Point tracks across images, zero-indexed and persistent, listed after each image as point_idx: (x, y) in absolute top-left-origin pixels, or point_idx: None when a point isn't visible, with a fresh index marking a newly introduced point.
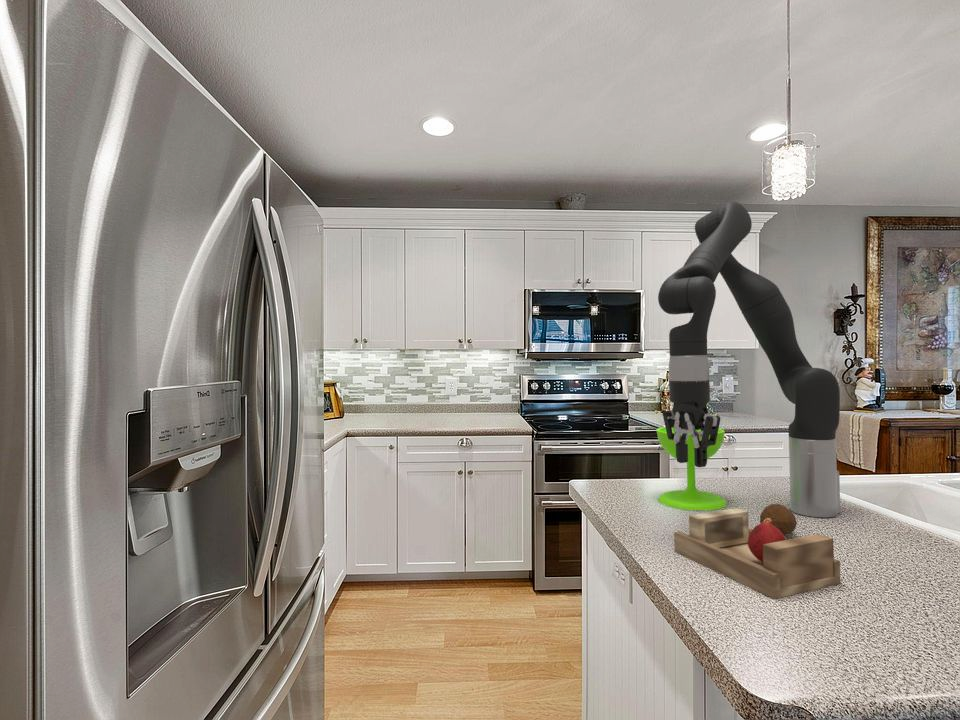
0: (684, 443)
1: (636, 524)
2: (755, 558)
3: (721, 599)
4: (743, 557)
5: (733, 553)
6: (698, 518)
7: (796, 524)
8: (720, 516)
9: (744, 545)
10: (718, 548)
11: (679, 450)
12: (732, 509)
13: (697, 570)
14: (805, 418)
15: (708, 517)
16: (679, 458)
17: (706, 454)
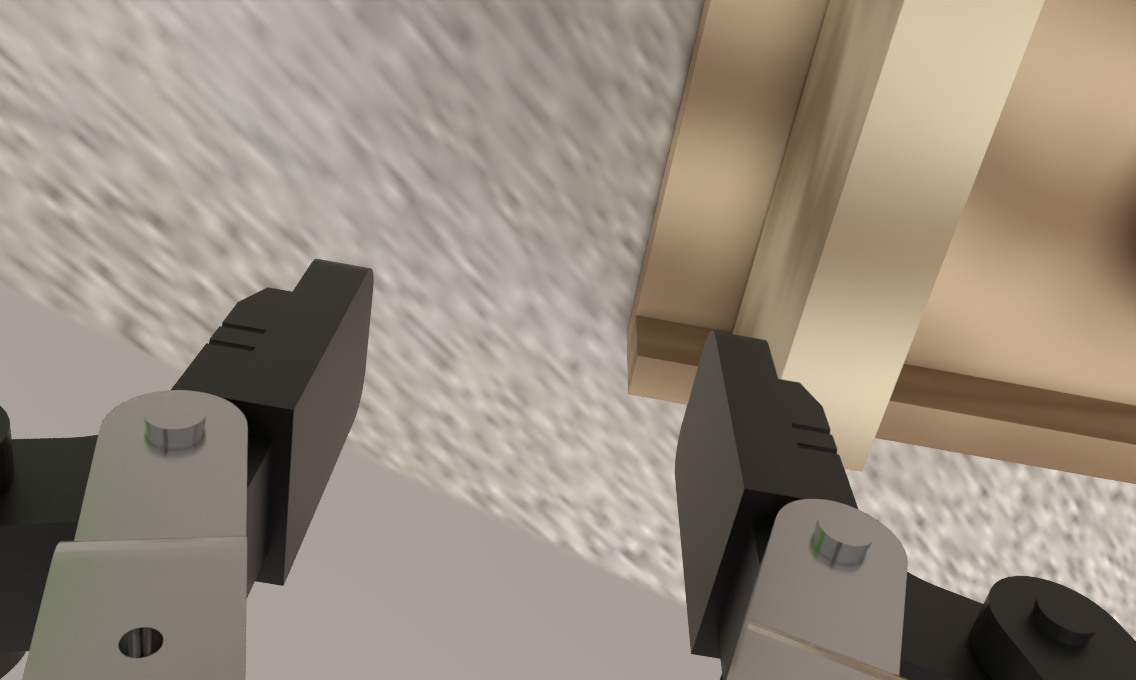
0: (267, 467)
1: (68, 117)
2: (1116, 160)
3: (1127, 611)
4: (1049, 206)
5: (969, 194)
6: (850, 459)
7: None
8: (933, 275)
9: None
10: (1002, 427)
11: (315, 510)
12: (917, 18)
13: (884, 452)
14: None
15: (891, 389)
16: (347, 435)
17: (840, 481)
